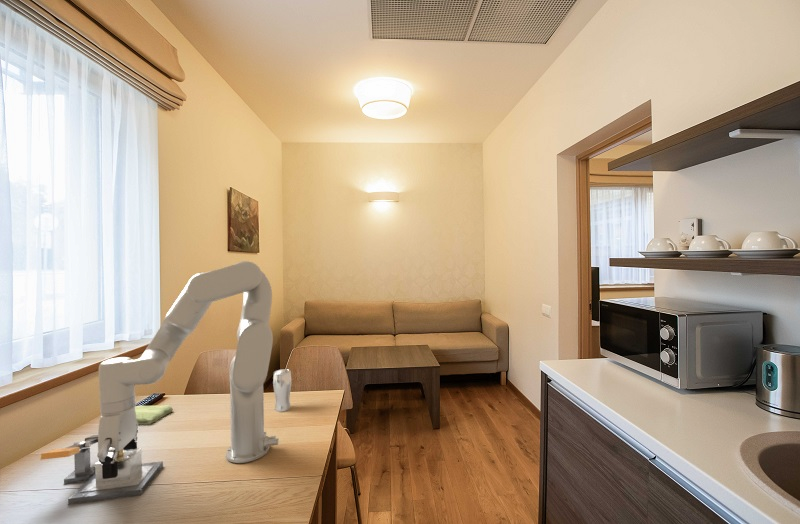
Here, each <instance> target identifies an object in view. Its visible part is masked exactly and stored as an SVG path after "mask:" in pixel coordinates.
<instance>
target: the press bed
mask: <svg viewBox="0 0 800 524" xmlns="http://www.w3.org/2000/svg"><path fill="white" fill-rule="evenodd" d="M73 458H74V470H73V471H72V472H70V473H69V474H68V475H67V476H65V478H64V479H63V485H65V484H71V483H72V484H73V483H81V482H84V483H83V484H82V485H80V487H79V488H77V490H76V491H74V492H73V494H71V495H70V497H68V498H67V504H68V505H76V504H83V503H84V504H85V503H86V504H87V503H93V502H99V501H109V500H115V499H116V500H117V499H122V498H131V497H137V496H138V497H139V496H141V495H142V494H143V493H144V492H145V490H146V489H147V488H148V486H149V485H150V484H151V483H152V481H154V479H155V477H157V475H158V473H159V472H160V471H161V470H160V469H163V467H164V461H162V460H161V461H156V462H155V461H154V462H147V463H144V462H142V470H141V471H140V472H139V473H138V474H137V476H136V477H135V478H134V479H133V480H132V481H131V482H130V483H122V484H114V485H106V486H98V487H96V476H95V466H91V448H90V447H88V448H81V449H79V453H76V454H74V457H73Z"/></svg>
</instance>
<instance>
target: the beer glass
mask: <svg viewBox="0 0 800 524" xmlns="http://www.w3.org/2000/svg"><path fill="white" fill-rule="evenodd" d="M272 379H273V381H272V384H273V385H272V386H273V394H274V396H275V397H274V398H275V405H274V410H275V412H278V413H280V412H281V413H282V412H283V413H285V412H287V411H289V410H291V401H290V399H291V398H290V397H291V396H290V395H291V389H292V371H291V370H290V369H288V368H287V369H286V368H285V369H282V368H281V369H278V370H275V371H273V377H272Z"/></svg>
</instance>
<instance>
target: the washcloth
mask: <svg viewBox="0 0 800 524" xmlns="http://www.w3.org/2000/svg"><path fill="white" fill-rule="evenodd" d="M135 412H136V421H137V422H138V426H149V425H152V424H153V423H156V422H157V421H159V420H160V419H161V418H163V417H166V416H167V415H168V414H171V413H172V412H173V407H172V406H171V405H169V404H165V405H158V404H157V405H136V407H135Z"/></svg>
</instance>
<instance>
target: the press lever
mask: <svg viewBox="0 0 800 524" xmlns="http://www.w3.org/2000/svg"><path fill="white" fill-rule="evenodd" d="M96 443H97V444H98V434H93V435H90V436H87V437H85V438H84V441H77V442H74V443H73V444H72V445H70V446H67V447H65V448H57V449H56V448H55V449H51V450H48V451H45V452H42V453H41V454H40V455H41V457H40V461H43V460H49V459H61V458H68V457H71V456H73V455H74V454H76V453H79V449H84V448H90V447H91V446H92V445H94V444H96Z"/></svg>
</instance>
